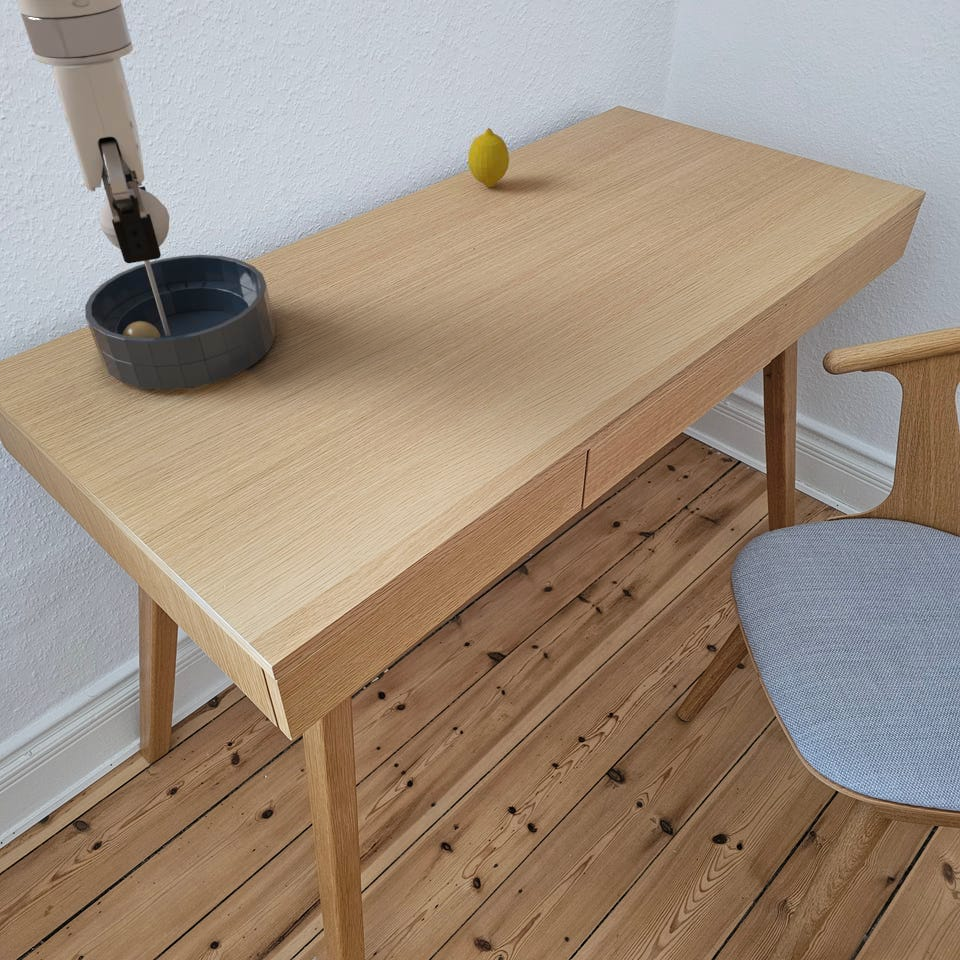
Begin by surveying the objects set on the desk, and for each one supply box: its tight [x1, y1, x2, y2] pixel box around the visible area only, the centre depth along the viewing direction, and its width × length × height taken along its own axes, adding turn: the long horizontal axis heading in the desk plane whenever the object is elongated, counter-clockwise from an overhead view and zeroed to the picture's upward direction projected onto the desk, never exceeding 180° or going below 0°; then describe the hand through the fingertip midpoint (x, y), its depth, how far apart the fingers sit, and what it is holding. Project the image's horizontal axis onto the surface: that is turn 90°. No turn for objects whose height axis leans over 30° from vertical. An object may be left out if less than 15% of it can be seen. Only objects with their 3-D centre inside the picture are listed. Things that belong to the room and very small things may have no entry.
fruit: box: [467, 127, 510, 188], centre depth 115 cm, size 6×6×8 cm
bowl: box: [84, 254, 277, 391], centre depth 86 cm, size 17×17×6 cm
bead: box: [123, 321, 161, 338], centre depth 84 cm, size 4×4×4 cm
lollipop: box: [98, 189, 171, 336], centre depth 81 cm, size 6×6×15 cm
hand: (140, 242), depth 80 cm, fingers closed on lollipop, 6 cm apart
